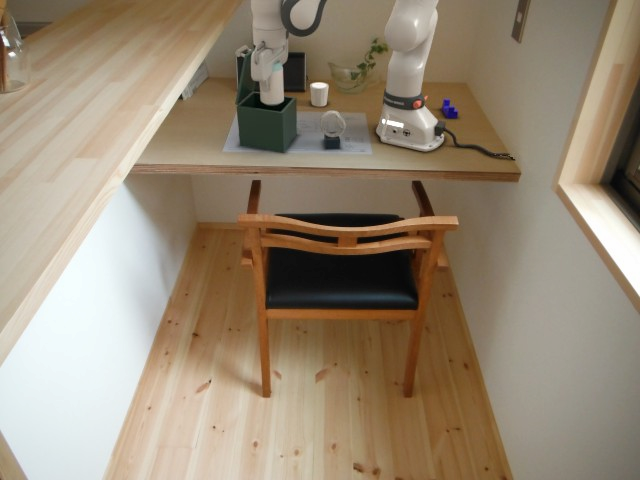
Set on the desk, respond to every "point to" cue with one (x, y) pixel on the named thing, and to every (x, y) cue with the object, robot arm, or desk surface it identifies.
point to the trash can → (267, 123)
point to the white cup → (319, 93)
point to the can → (274, 87)
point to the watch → (332, 137)
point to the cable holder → (449, 109)
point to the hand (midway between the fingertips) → (271, 86)
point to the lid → (245, 75)
